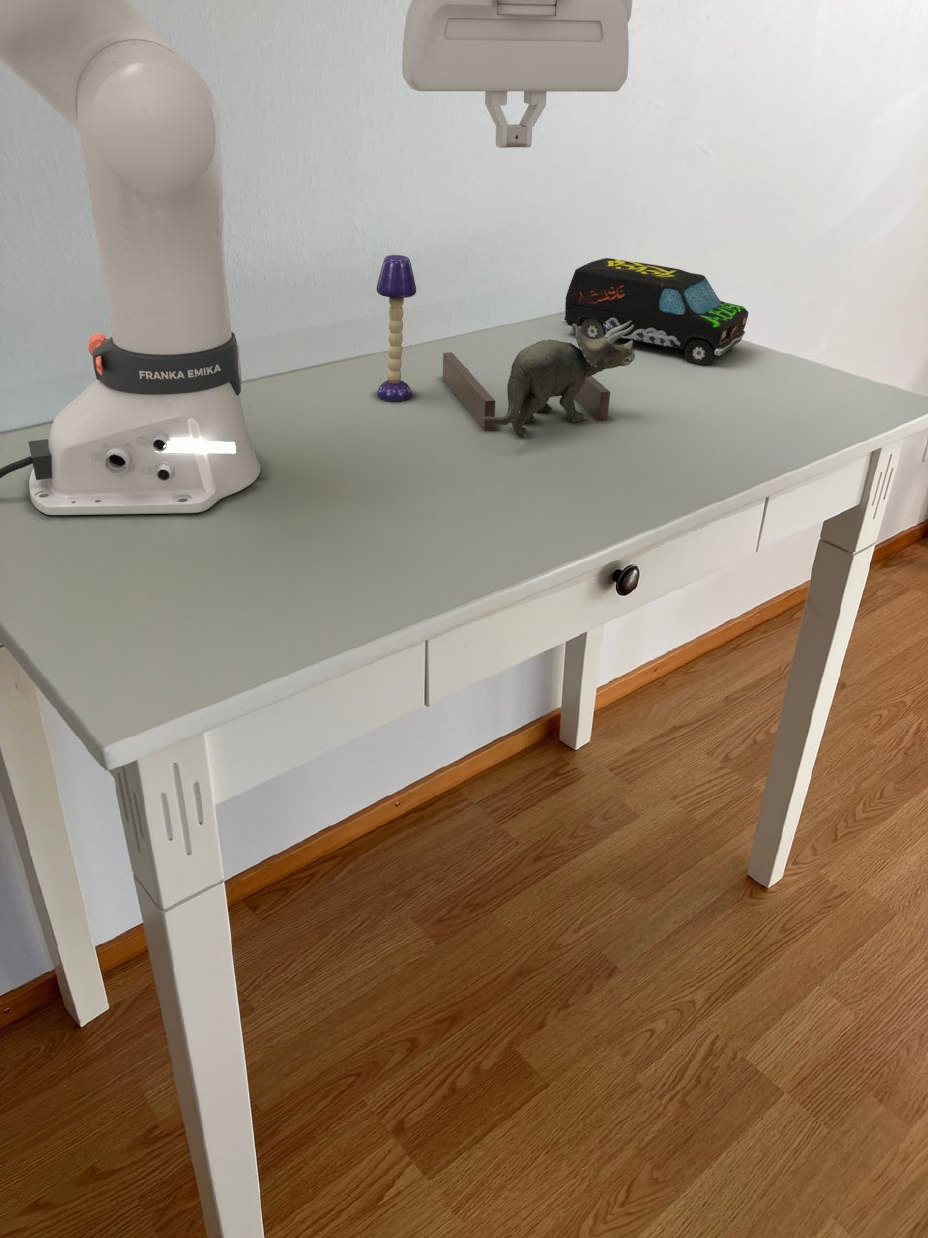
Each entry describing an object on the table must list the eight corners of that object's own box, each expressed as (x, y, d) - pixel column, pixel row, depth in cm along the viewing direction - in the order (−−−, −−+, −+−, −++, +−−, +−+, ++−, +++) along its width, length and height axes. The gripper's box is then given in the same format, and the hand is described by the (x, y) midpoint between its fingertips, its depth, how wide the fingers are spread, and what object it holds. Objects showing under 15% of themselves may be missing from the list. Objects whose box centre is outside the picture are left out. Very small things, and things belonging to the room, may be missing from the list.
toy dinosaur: (487, 455, 112) (492, 354, 106) (442, 430, 117) (444, 333, 111) (632, 416, 123) (644, 322, 117) (585, 395, 129) (594, 305, 123)
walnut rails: (484, 430, 118) (485, 401, 116) (442, 379, 132) (443, 352, 130) (607, 419, 122) (610, 391, 120) (554, 371, 136) (556, 345, 134)
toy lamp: (419, 391, 128) (420, 253, 119) (411, 404, 124) (411, 262, 115) (382, 388, 129) (380, 250, 120) (372, 401, 125) (370, 259, 116)
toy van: (718, 369, 139) (730, 294, 133) (558, 335, 150) (563, 265, 145) (746, 350, 146) (758, 278, 141) (591, 319, 158) (597, 252, 152)
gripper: (620, -29, 91) (604, 140, 99) (396, -37, 86) (398, 143, 94) (650, -29, 86) (631, 150, 94) (415, -37, 81) (414, 153, 89)
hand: (513, 146), depth 94 cm, fingers closed
